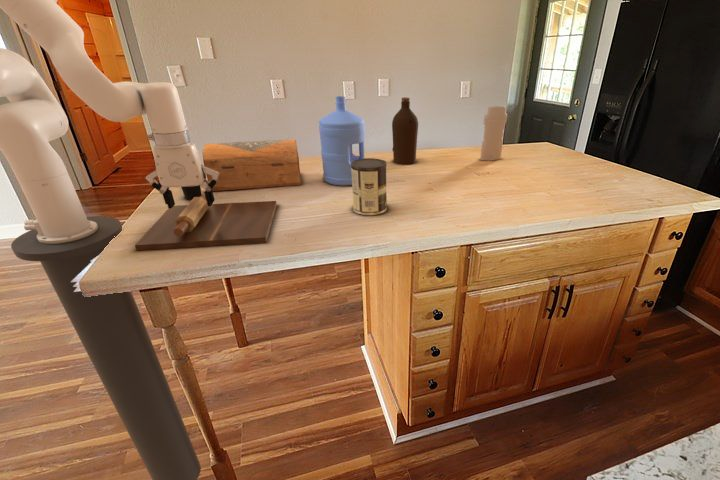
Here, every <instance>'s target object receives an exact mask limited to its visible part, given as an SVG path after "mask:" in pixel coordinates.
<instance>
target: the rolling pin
mask: <svg viewBox="0 0 720 480" xmlns="http://www.w3.org/2000/svg"><path fill="white" fill-rule="evenodd" d="M186 205H187V207H186V208H185V209H184V210H183V211H182V213H181V214H180V215H179V216H178V217H177V219H176V220H175V225H176V228H175V229H174V231H173V232H174V234H175V235H176V236H182V235H183V234H184V233H185V232H191V231H192V230H193V229H194V227H195V226H196V225H197V223H198V222H199V220H200V219H201V217H202V216H203V215H204V213H205V212H206V210H207V209H208V207H209V206H208V204H207V201H206V197H205V194H202V195H201V196H200V197H194V198H193V199H192V200H190V201H189V203H188V204H186Z"/></svg>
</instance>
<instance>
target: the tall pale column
mask: <svg viewBox="0 0 720 480" xmlns="http://www.w3.org/2000/svg"><path fill="white" fill-rule="evenodd" d="M506 111H507V110H506V106H505V105H499V104H495V105H492V106H488V108H487V112H486V113H485V114H484V117H483V126H484V127H483V129H484V130H483V139H482V142H481V150H480V157H479V158H480V159H479V160H480V161H496V160H501V158H502V151H503V144H504V140H503V137H504V132H505V127H506V126H505V125H506V124H507V121H508V113H507V112H506Z"/></svg>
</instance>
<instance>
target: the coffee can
mask: <svg viewBox="0 0 720 480" xmlns="http://www.w3.org/2000/svg"><path fill="white" fill-rule="evenodd" d="M387 163H388V162H387V161H386V160H384V159H380V158H374V157H373V158H372V157H371V158H369V157H368V158H367V157H366V158H365V159H358V160H354V161H352V162H351V172H352V185H351V187H352V206H353V212H354V213H356V214H358V215H363V216H376V215H382V214H383V213H385V212H386V211H387V210H388V207H387V206H388V205H387V203H388V202H387V165H388V164H387Z"/></svg>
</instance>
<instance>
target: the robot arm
mask: <svg viewBox="0 0 720 480" xmlns="http://www.w3.org/2000/svg"><path fill="white" fill-rule="evenodd" d="M0 9H1V11H3V12H4V13H5V14H6V15H7V16H8V17H9V18H10V19H12V21H13V22H14V23H15V24H17V25H18V26H19V28H20V29H22V30H23V31H24V32H25V33H26V34H27V35H28V36H29V37H30V38H31V39H33V41H35V42H36V43H37V44H38V45H39V46H40V47H41V48H42V49H43V51H45V52H46V53H47V54H48V56H49V58H50V61H51V62H52V65H53V66H54V68H55V70H56V71H57V73H58V75H59V77H60V78H61V79H62V82H64V84H65V85H66V86H67V87H68V88H69V89H70V91H72V93H74V94H75V95H76V96H77V97H78V98H79V99H80V100H81V101H82V102H84V103H85V105H87V106H88V107H89V108H90V109H91V110H92V111H93V112H95V114H97V115H99V116H100V117H102V118H104V119H105V120H107V121H110V122H115V123H123V122H126V121H127V122H128V121H129V120H131V119H134V118H137V117H140V116H144V115H147V119H148V122H149V126H150V128H151V134H148V135H147V139H148V141H151V142H152V141H153V142H154V144H155V145H153V146H152V152H153V159H154V164H155V170H154V171H152V172H150V173H149V174H148V175H146V176H145V179H146V181H147V182H148V183H149V184H150V185H151V187H152V188H153V189H155V190H156V191H158V192H159V194H162V197H163V200H164V204H165V205H167V208H168V209H169V208H172V207H173V206H176V202H175V198H174V194H173V192H172V190H171V189H170V188H181V187H188V186H199V185H200V188H203V189H204V190H205V191H204V195H205V197H206V201H207V204H208V206H211V205H212V204H214V202H215V200H216V199H215V194H214V191H213V190H212V188H213V187H214V185H215V184H216V183H217V181H218V178H219V174H220V173H219V172H218V171H215V170H212V169H210V168H207V167H205V166H204V162H203V159H202V157H201V156H200V152H199V150H198V147H197V146H196V145H195V142H194V141H193V142H192V141H191V136H190V133H189V129H188V126H187V121H186V117H185V113H184V110H183V107H182V106H183V105H182V102H181V98H180V95H179V91H178V89H177V87H176V85H174V83H171V82H165V81H157V82H156V81H155V82H146V83H145V82H137V81H126V80H125V81H124V80H123V81H118V82H112V80H110V79H109V78H108V77H107V75H105V74H104V73H103V72H102V71H101V70H100V69H99V68H98V67H97V66H96V64H95V63H94V62H93V60H92V59H91V58H90V57H89V55H88V53H87V51H86V49H85V48H86V47H85V44H84V41H85V40H84V39H85V33H84V30H83V29H82V27H81V26H80V25H79V24H78V23H77V22H76V21H75V20H74V19H73V18H72V17H71V16H70V15H69V14H68V13H67V12H66V11H65V10H64V9H63V8H62V7H61V6H60V5H59V4H58V0H0ZM0 98H6V99H7V100H8V101H9V102H6V103H2V104H0V152H1V153H2V155H3V156H4V158H5V159H6V161H7V163H8V165H9V167H10V168H11V170H12V173H13V174H14V176H15V178H16V180H17V182H18V184H19V186H20V189H21V190H22V193H23V194H24V197H25V198H26V200H27V203H28V204H29V207H30V209H31V211H32V213H33V215H34V217H35V219H26V220H24V226H23V228H24V230H25V231H30V230H37V232H38V234H37V239H38V241H39V242H41V243H45V244H60V243H66V242H71V241H76V240H79V239H82V238H85V237H87V236H90V235H91V234H93V233H95V232H96V231H97V230H98V225H97V223H96V222H93V221H88V220H87V217H88V216H87V215H86V212H85V210H84V208H83V205H82V203H81V200H80V198H79V196H78V193H77V191H76V188H75V187H74V184H73V182H72V181H73V180H72V179H71V176H70V174H69V172H68V170H67V167H66V165H65V163H64V161H63V159H62V158H61V156H60V154H58V152H57V151H56V150H55V149H54V148H53V147H52V145H51V144H50V142H52V141H54V140H57V139H59V138H61V137H64V135H66V133H67V132H68V130H69V124H70V123H69V119H68V116H67V114H66V112H65V110H64V108H63V107H62V105H61V104H60V103H59V101H58V100H57V98H56V97H55V95H54V94H53V92H52V91H51V89H50V88H49V87H48V85H47V83H46V82H45V80H44V79H43V77H42V76H41V74H40V73H39V71H38V70H37V69H36V68H35V67H34V66H33V64H32V63H31V62H30V61H28V60H27V59H26V58H25V57H23V56H22V55H21V54H20V53H18V52H15V51H13V50H11V49H7V48H1V47H0ZM206 174H209V175H211V176H212V181H211V182H209V181H208V179H207V175H206ZM156 178H158V181H157V179H156Z"/></svg>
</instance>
